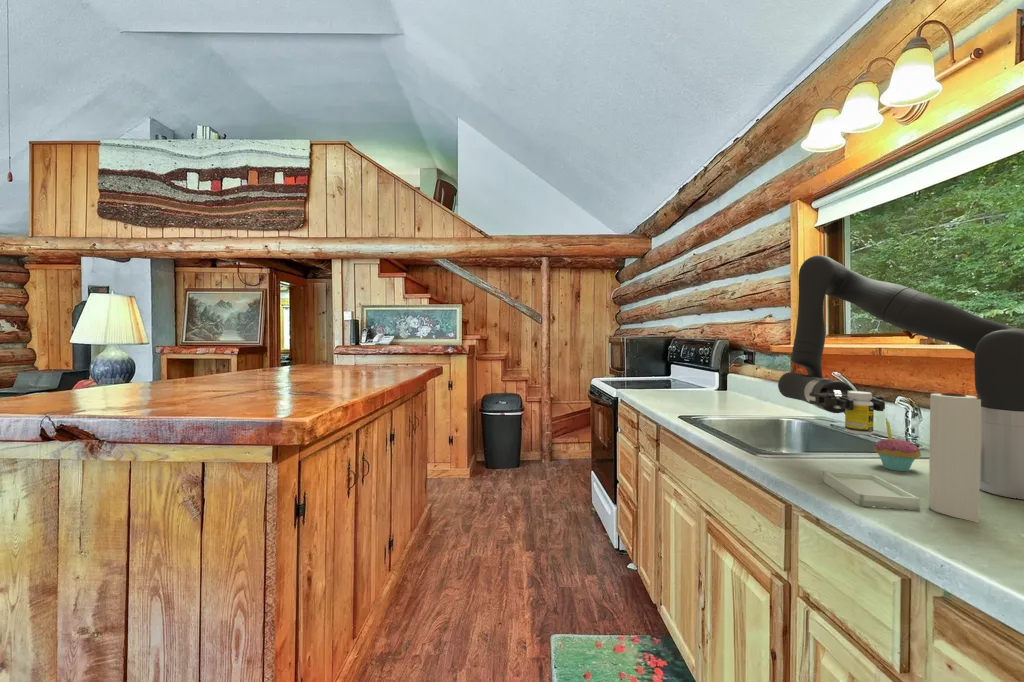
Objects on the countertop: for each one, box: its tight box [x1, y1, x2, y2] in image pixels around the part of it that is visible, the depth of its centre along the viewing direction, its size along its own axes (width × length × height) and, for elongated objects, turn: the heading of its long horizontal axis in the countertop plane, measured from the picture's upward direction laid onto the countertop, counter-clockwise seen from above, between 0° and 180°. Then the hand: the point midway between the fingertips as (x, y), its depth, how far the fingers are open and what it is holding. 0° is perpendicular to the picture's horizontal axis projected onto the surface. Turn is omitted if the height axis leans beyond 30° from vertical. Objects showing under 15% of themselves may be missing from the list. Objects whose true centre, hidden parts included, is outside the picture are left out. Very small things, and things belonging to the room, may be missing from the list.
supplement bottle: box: [844, 390, 875, 435], centre depth 95 cm, size 5×5×8 cm
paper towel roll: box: [928, 392, 981, 524], centre depth 82 cm, size 7×6×21 cm
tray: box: [822, 470, 921, 512], centre depth 91 cm, size 10×15×2 cm, turn 168°
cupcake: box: [873, 417, 922, 472], centre depth 110 cm, size 9×8×12 cm
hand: (866, 405), depth 92 cm, fingers closed on supplement bottle, 4 cm apart
